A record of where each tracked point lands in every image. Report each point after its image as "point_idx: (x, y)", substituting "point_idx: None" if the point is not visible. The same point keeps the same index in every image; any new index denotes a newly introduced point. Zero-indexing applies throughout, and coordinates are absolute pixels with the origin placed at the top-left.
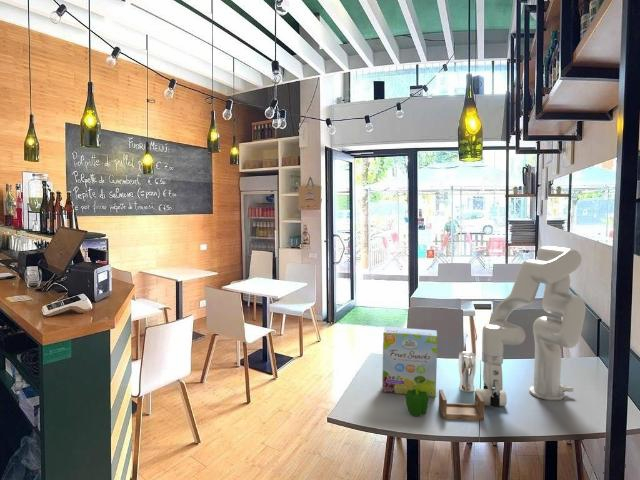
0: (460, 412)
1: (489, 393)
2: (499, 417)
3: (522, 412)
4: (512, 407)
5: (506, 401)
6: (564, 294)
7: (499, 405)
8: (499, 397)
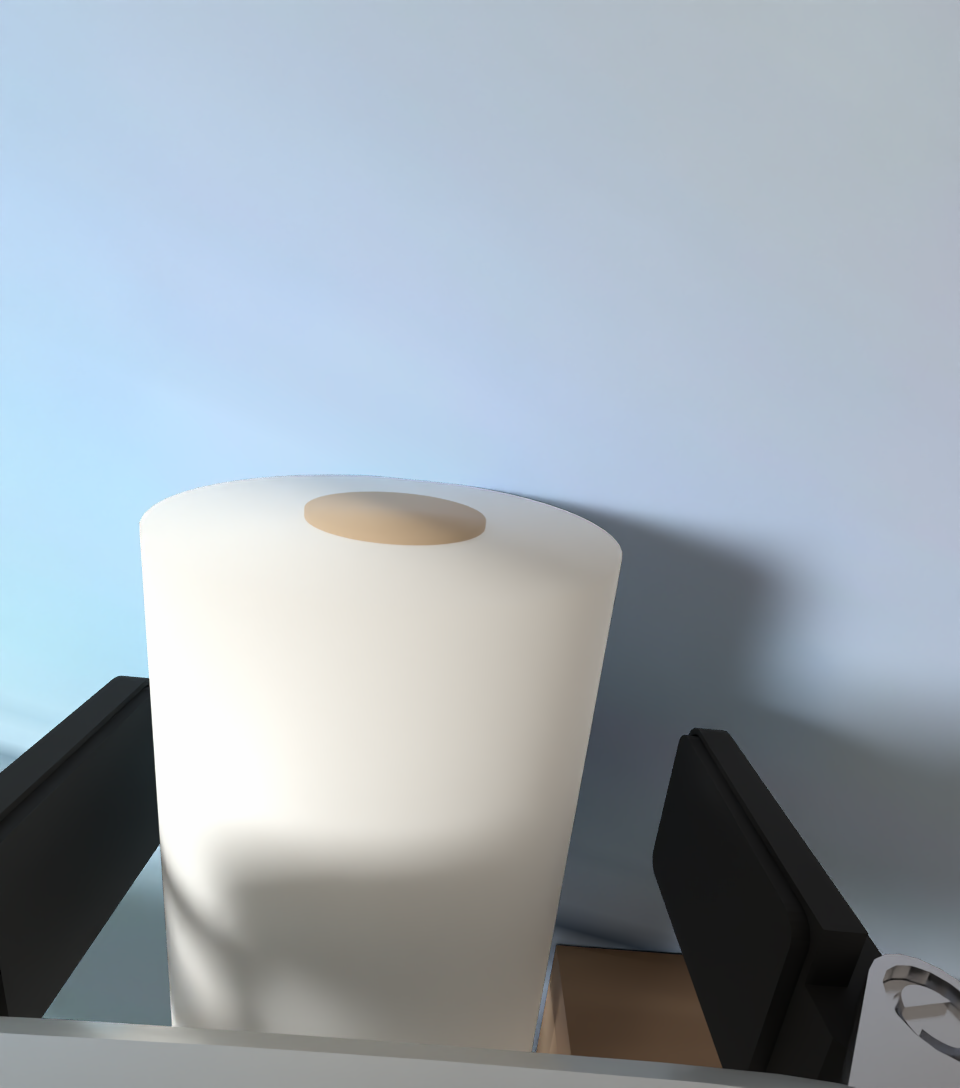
0: None
1: (492, 1039)
2: (884, 746)
3: (782, 217)
4: (531, 343)
5: (615, 546)
6: None
7: (738, 749)
8: (946, 983)
